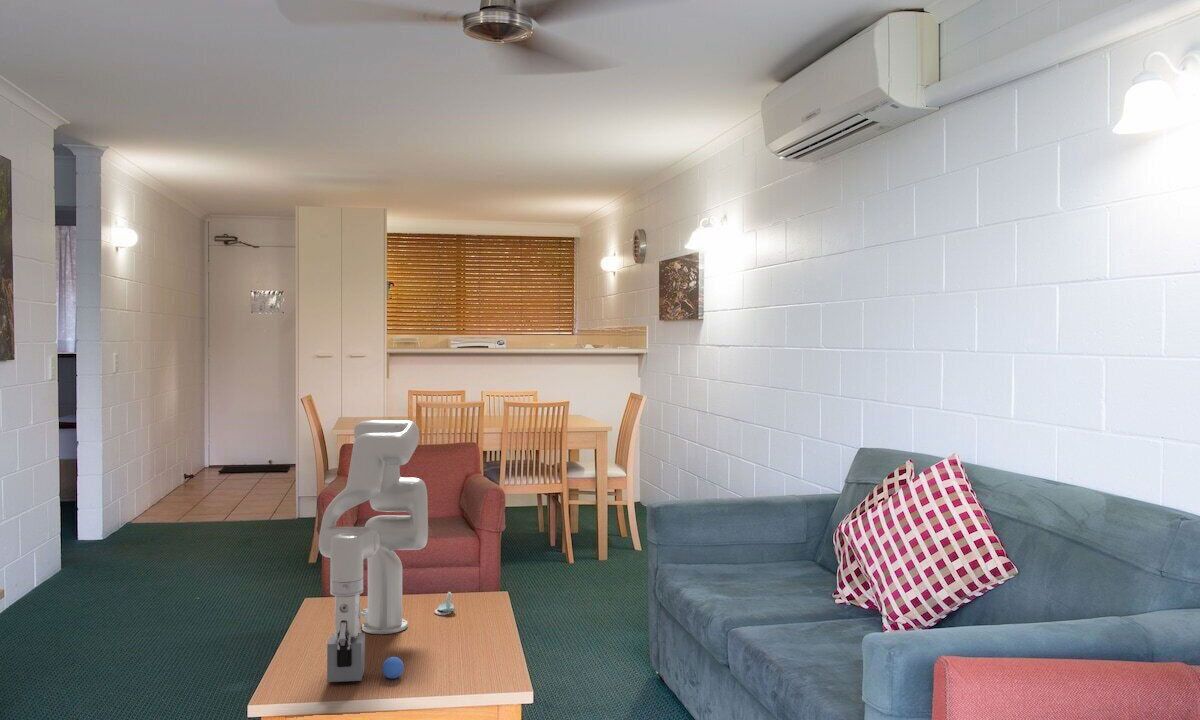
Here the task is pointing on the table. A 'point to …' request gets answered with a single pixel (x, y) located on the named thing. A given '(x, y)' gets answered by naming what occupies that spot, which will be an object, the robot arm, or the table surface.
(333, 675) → the gray foam cube
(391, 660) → the ball
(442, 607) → the pacifier
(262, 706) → the table surface
